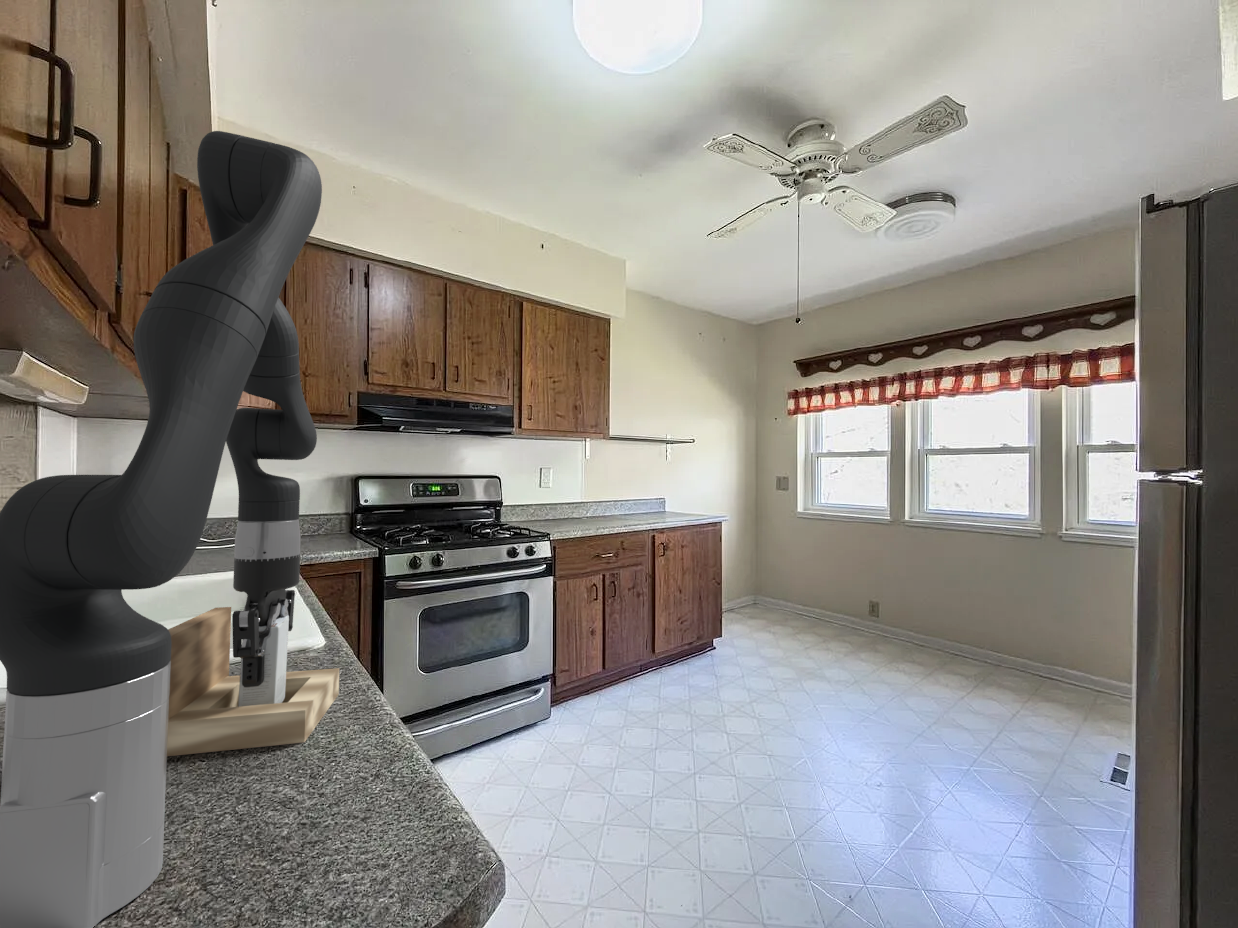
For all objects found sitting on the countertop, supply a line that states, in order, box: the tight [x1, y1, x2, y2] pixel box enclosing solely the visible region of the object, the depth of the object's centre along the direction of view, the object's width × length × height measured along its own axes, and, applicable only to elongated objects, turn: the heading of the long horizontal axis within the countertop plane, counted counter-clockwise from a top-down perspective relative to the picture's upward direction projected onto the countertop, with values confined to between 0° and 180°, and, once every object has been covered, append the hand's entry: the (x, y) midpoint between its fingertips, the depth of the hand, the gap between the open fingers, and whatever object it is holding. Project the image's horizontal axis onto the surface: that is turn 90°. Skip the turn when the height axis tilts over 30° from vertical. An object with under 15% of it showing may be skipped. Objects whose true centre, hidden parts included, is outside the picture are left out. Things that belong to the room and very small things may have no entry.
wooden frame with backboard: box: [167, 606, 340, 757], centre depth 70 cm, size 16×17×14 cm
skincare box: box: [238, 616, 289, 707], centre depth 70 cm, size 6×4×12 cm
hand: (264, 675), depth 70 cm, fingers closed on skincare box, 6 cm apart
